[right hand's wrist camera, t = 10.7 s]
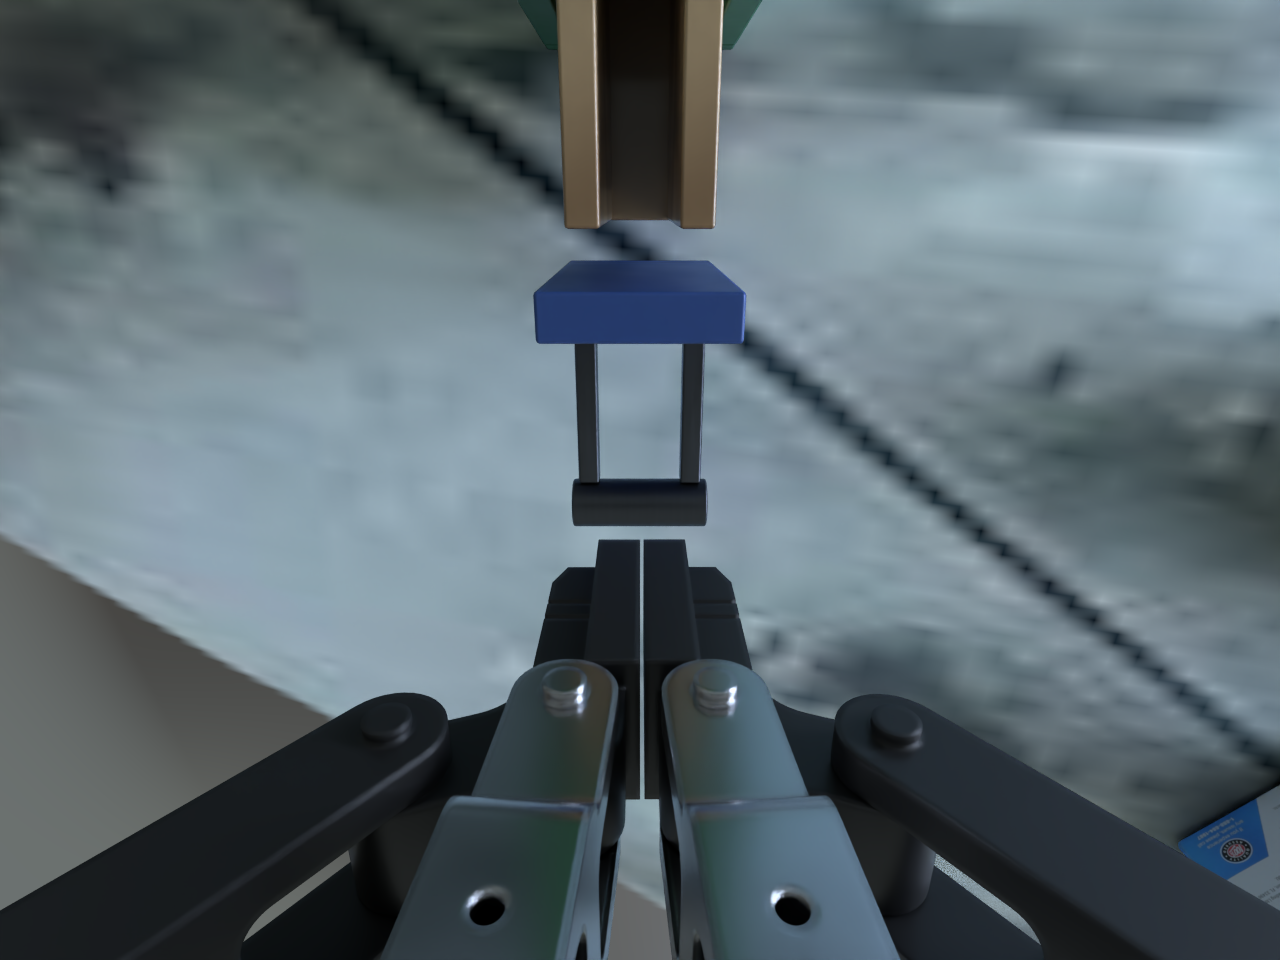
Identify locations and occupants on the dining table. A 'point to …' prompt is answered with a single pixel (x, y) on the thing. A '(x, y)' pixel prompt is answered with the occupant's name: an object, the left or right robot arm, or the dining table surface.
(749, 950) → the right robot arm
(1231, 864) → the ink box
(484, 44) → the dining table surface
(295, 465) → the dining table surface
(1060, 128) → the dining table surface
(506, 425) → the dining table surface
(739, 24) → the cabinet
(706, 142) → the drawer
